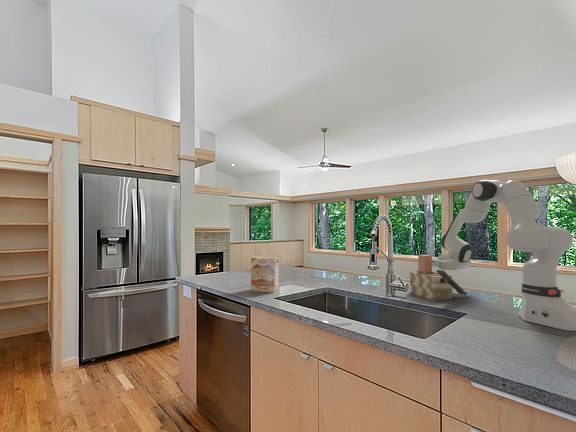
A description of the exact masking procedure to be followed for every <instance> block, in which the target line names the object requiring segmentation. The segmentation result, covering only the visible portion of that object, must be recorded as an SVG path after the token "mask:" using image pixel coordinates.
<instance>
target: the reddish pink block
mask: <svg viewBox="0 0 576 432" xmlns="http://www.w3.org/2000/svg"><path fill="white" fill-rule="evenodd" d="M417 256H418V258H417V259H418V260H417V261H418V263H417V267H418V269H417V271H418V272H423V273H432V272H433V266H431V265H430V263H431V262H432V258H433V255H430V254H417Z"/></svg>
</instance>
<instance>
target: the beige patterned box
mask: <svg viewBox="0 0 576 432" xmlns="http://www.w3.org/2000/svg"><path fill="white" fill-rule="evenodd" d="M409 273H410V274H409V275H410V276H409V277H410V278H409V281H410V282H409V285H410V287H409V289H410V294H412V295H416V296H419V297H421V298H425V299H428V300H431V301H442V300H443V301H444V300H452V299H453V298H452V293H453V287H452V286H451V285H450V284H449V283H445V282H442V280H443V279H444V278H443V277H442V276H441V275H440V274H439V273H438V272H435V271H432V273H423V272H418V270H416V271H410V272H409ZM449 276H450V277H451V278H452V279H453V276H452V275H449Z"/></svg>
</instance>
